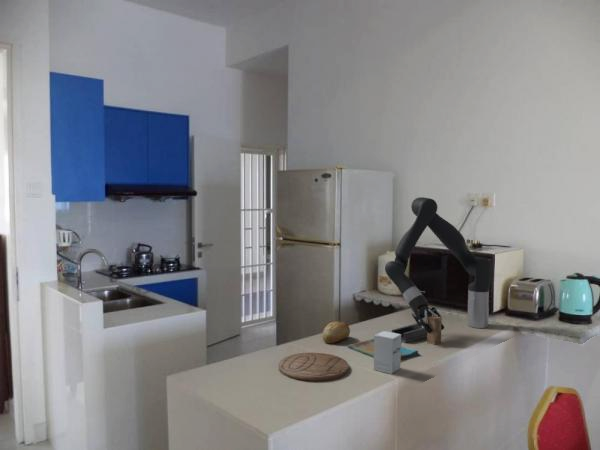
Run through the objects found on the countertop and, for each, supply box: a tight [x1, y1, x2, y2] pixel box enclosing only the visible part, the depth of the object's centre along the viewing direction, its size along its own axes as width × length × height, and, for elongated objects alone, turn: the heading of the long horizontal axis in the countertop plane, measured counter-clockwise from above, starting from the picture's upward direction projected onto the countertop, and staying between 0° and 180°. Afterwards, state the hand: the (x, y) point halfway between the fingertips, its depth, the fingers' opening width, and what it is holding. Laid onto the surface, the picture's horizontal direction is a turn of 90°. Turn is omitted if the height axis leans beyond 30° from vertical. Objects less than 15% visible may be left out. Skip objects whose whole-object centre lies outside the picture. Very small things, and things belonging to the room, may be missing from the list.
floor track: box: [391, 322, 427, 344], centre depth 207 cm, size 20×8×4 cm, turn 129°
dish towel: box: [347, 338, 420, 361], centre depth 187 cm, size 17×23×2 cm
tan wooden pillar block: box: [426, 315, 443, 346], centre depth 198 cm, size 5×4×11 cm
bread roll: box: [322, 321, 351, 344], centre depth 201 cm, size 10×15×8 cm, turn 141°
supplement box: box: [373, 330, 402, 375], centre depth 167 cm, size 7×7×13 cm
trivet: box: [278, 352, 349, 383], centre depth 167 cm, size 25×25×2 cm
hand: (437, 330), depth 197 cm, fingers open, 8 cm apart
